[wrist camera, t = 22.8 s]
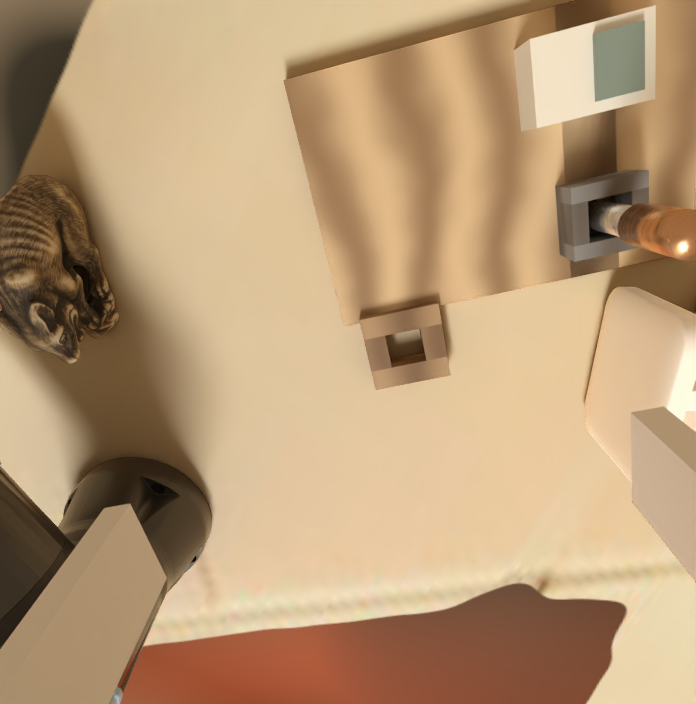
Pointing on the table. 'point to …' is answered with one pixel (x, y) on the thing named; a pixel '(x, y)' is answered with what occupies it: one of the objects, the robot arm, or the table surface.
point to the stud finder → (587, 69)
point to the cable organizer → (640, 368)
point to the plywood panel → (485, 163)
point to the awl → (648, 226)
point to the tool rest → (410, 366)
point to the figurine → (50, 270)
